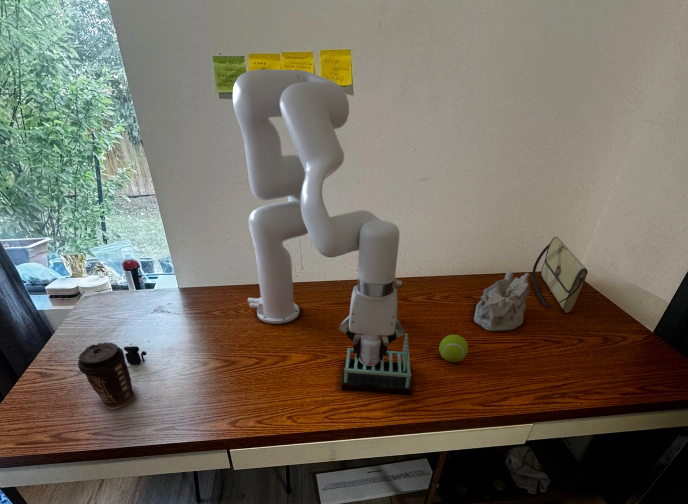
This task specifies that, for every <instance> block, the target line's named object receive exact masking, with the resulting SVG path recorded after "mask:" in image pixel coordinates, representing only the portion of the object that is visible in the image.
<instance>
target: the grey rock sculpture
mask: <svg viewBox="0 0 688 504" xmlns="http://www.w3.org/2000/svg"><path fill="white" fill-rule="evenodd" d="M529 276H530V273H529V272H526V273H524V275H523V274H522V275H521V276H520V277H519V278H518V277H517V276H516V277H515V278H514V272H513V271H512V270H508V271H507V272H506V274H505V275H504V279H500V280H497V281H495V282H494V283H493V284H492V285H490V286H489V287H487V288H484V289H482V292H483V294H482V295H481V296H480V299H481V300H480V301H478V303H477V304H476V306H475V312H474V316H473V322H475V323H476V324H477V325H478V326H480V327H482V328H483V329H484V330H486V331H490V332H497V331H499V332H502V331H512V330H515V329H517V328H518V327H520V326H521V325H522V324H523V323H524V319H525V318H524V317H525V316H524V314H525V311H526V308H527V307H526V306H527V304H526V302H527V299H528V296H529V294H530V292H531V291H530V288H529V286H530V283H529ZM513 278H514V279H513Z"/></svg>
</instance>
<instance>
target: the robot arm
mask: <svg viewBox="0 0 688 504" xmlns="http://www.w3.org/2000/svg"><path fill="white" fill-rule="evenodd" d="M233 84H234V85H233V87H232V104H233V110H234V113H235V116H236V120H237V123H238V125H239V127H240V132H241V135H242V139H243V144H244V153H245V161H246V167H247V177H248V183H249V187H250V191H251V193H252V196H253V197H254V198H255V199H257V200H259V201H272V200H278V199H284V198H287V201H286V200H285V201H283V202H275V203H271V204H267V205H262V206H259V207H257V208H255V209H253V210H252V211H251V212H250V214H249V216H248V222H247V223H248V229H249V232H250V235H251V239H252V243H253V246H254V253H255V259H256V268H257V276H258V277H257V278H258V285H259V292H260V293H259V294H260V297H258V298H256V297H248V298H247V305H249V308H250V309H257V310H256V316H257V318H258V319H259V320H261V321H262V322H264V323H267V324H270V325H271V324H273V325H279V324H280V325H281V324H286V323H290V322H292V321H294V320H296V319H297V318H298V317H299V315H300V307H299V305H297V304H296V303H295V302H294V301H295V300H294V299H295V298H294V282H293V281H294V280H293V264H292V255H291V253H290V252H289V250H288V249H287V248H286V247H285V246H284V244H283V243H284V242H286V241H288V240H292V239H295V238H299V237H302V236H305V235H309V238H310V240H311V242H312V244H313V245H314V248H315V249H316V250H317V251H318V252H319V254H320V255H322V256H323V257H326V258H336V257H339V256H343V255H347V254H349V253H352V252H356V251H358V260H357V276H356V277H357V279H356V285H354V286H353V289H352V292H351V297H350V303H349V304H350V307H349V314H348V316H347V317H345V319H344V320H342V322H340V323H339V325H338V331H340V332H341V333H343V334H344V335H346V337H347V338H349V340H350V341H352V345H353V348H354V350H353V352H352V353H353V354H355V355H356V359H359V353H360V338H361V336H362V334H372V335H380V336H381V351H380V360H379V361H381V360H382V361H383V355H384V356H387V355H386V354H387V351H388V347H389V346H390V344H391V343H393V342H394V341H395V340H396V341H397V339H398V338H400V337H402V336H405V334H406V329H405V327H404V326H403V325H402V323H401V322H400V320H399V319H398V290H397V288H402V284H403V283H402V280H398V279H397V277H396V272H397V264H398V262H397V261H398V254H399V246H400V245H399V244H400V235H401V234H400V233H401V232H400V229H399V227H398V226H397V225H396V224H395V223H393V222H391V221H387V220H382V219H381V218H379V217H378V216H376V215H375V214H373V213H372V212H371V211H369V210H366V209H358V210H354V211H350V212H345V213H341V214H336V215H332V216H330V215H329V212H328V210H327V207H326V205H325V202H324V197H323V185H324V183H325V180H327V178H329V177H330V176H331V175H333V174H334V173H335V172H337V171H338V170H339V169H340V168H341V166H342V165H343V163H344V161H345V152H344V150H343V148H342V145H341V143H340V140H339V138H338V136H337V134H336V133H337V132H336V131H335V130H337V129H340V128H342V127H343V126H344V125H345V124H346V123H347V122H348V119H349V115H350V103H349V99H348V96H347V93H346V92H345V90H344V89H343V88H342V86H340V84H338V83H337V82H336V81H333V80H331V79H328V78H325V77H323V76H321V75H318V74H315V73H313V72H310V71H308V70H307V71H306V70H299V69H297V70H296V69H253V70H249V71H245V72H243V73H241V74H240V75H238V77H237V78H236V80H235V81H234V83H233ZM270 118H282V120H283V122H284V125H285V127H286V130H287V131H288V134H289V137H290V139H291V141H292V143H293V147H294V148H295V151H296V153H297V154H285V155H283V151H282V141H281V136H280V133H279V131H278V129H277V128H276V126H275V124H274V123H273V122H272V120H271V119H270Z"/></svg>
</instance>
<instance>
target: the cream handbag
mask: <svg viewBox="0 0 688 504" xmlns="http://www.w3.org/2000/svg"><path fill="white" fill-rule="evenodd" d="M544 254H545V257H544V261H543V264H542V266H541V270H540V277H541V278H542V279H543V281H544V282H545V284H546V286H547V287H548V289H549V290H550V292H551V293H552V295H553V296H554V298H555V299H556V301H557V302H555V303H553V304H552V303H551V304H549V303H547V302H546V301H545V299H544V297H543V296H542V294H541V292H540V289H539V287H538V284H537V279H536V278H537V277H536V270H537V267H538V265H539V262H540V261H541V259H542V257H543V256H544ZM588 272H589V271H588V269H587V268H586V267H585V266H584V265H583V263H581V262H580V260H579V259H578V258H577V257H576V256H575V255H574V253H573V252H572V251H571V250H570V249H569V248H568V247H567V245H565V243H564V242H563V241H562V240H561V239H560V238H559V237H558V236H554V237H553V238H551V240H550V242H549V244H547V246H545V247H544V248H543V250H542V251H541V252H540V253H539V255H538V257H537V258H536V260H535V262H534V265H533V268H532V272H531V273H532V274H531V277H532V284H533V287H534V290H535V293H536V295H537V297H538V299H539V300H540V301H541V303H542V304H543V305H544V306H546V307H549V306H550V307H551V306H554V305H558V304H559V306H560V307H561V308H562V311H563V312H564V314H569V313H570V312H571V311H572V310H573V308H574V307H575V304H576V302H577V300H578V298H579V295H580V292H581V290H582V288H583V285H584V283H585V282H586V280H587V279H586V278H587V275H588V274H589V273H588Z"/></svg>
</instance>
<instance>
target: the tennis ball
mask: <svg viewBox="0 0 688 504" xmlns="http://www.w3.org/2000/svg"><path fill="white" fill-rule="evenodd" d="M438 350H439V354H440V356H441V358H442V359H444V360H445V361H447V362H449V363H459V362H461V361H463V360H464V359H465V358H466V357H467V355H468V353H469V344H468V341H466V339H465V338H464V337H462V336H461V335H460V334H449V335H446V336H445V337H443V338H442V339H441V341H440V343H439V346H438Z"/></svg>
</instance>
